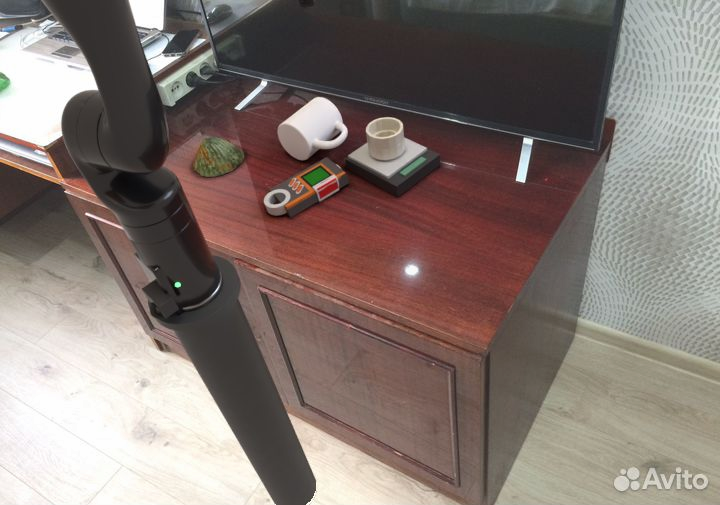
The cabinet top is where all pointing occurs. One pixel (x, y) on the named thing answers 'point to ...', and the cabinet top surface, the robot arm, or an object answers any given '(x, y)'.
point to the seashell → (216, 157)
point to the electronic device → (306, 188)
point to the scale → (394, 167)
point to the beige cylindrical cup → (385, 138)
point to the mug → (312, 129)
